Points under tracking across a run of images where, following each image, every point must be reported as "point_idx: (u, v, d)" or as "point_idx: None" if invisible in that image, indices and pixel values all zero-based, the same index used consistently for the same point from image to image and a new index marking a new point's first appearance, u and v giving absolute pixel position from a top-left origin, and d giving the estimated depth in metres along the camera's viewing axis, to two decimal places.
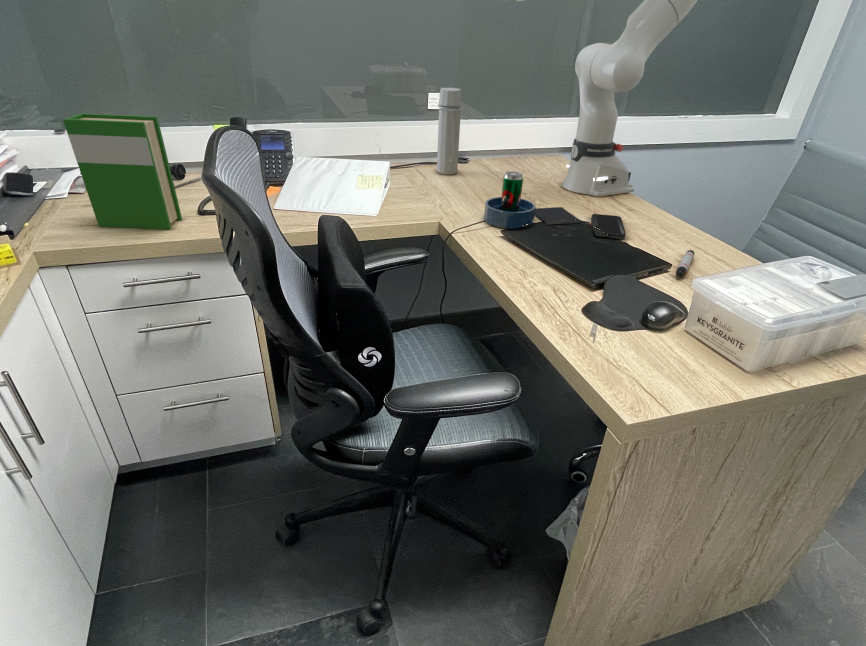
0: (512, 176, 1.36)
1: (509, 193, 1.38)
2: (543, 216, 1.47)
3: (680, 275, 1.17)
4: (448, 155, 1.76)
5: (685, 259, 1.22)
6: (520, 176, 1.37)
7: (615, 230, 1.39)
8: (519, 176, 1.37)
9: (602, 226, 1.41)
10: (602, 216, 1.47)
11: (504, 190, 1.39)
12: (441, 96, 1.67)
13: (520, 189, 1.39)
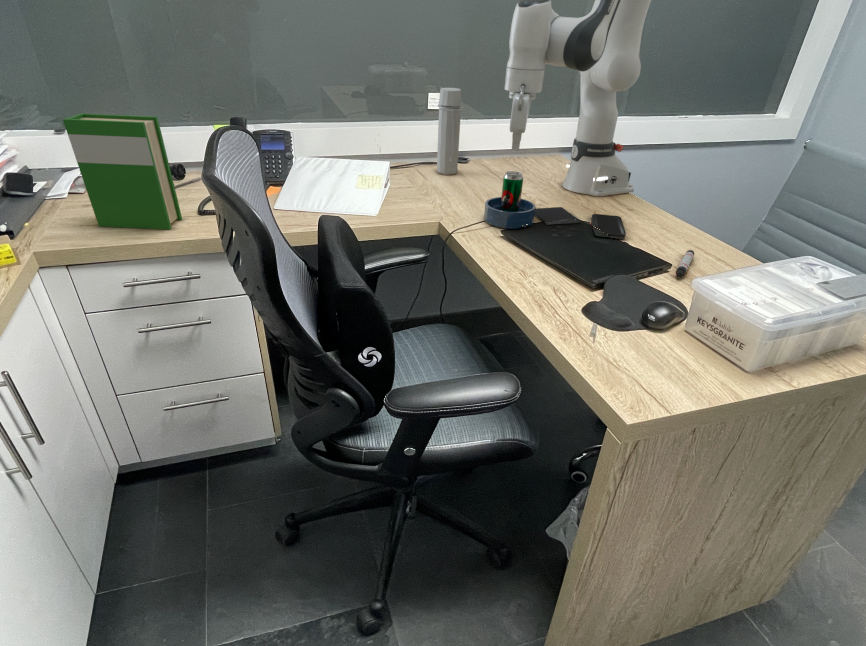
0: (512, 176, 1.36)
1: (509, 193, 1.38)
2: (543, 216, 1.47)
3: (680, 275, 1.17)
4: (448, 155, 1.76)
5: (685, 259, 1.22)
6: (520, 176, 1.37)
7: (615, 230, 1.39)
8: (519, 176, 1.37)
9: (602, 226, 1.41)
10: (602, 216, 1.47)
11: (504, 190, 1.39)
12: (441, 96, 1.67)
13: (520, 189, 1.39)
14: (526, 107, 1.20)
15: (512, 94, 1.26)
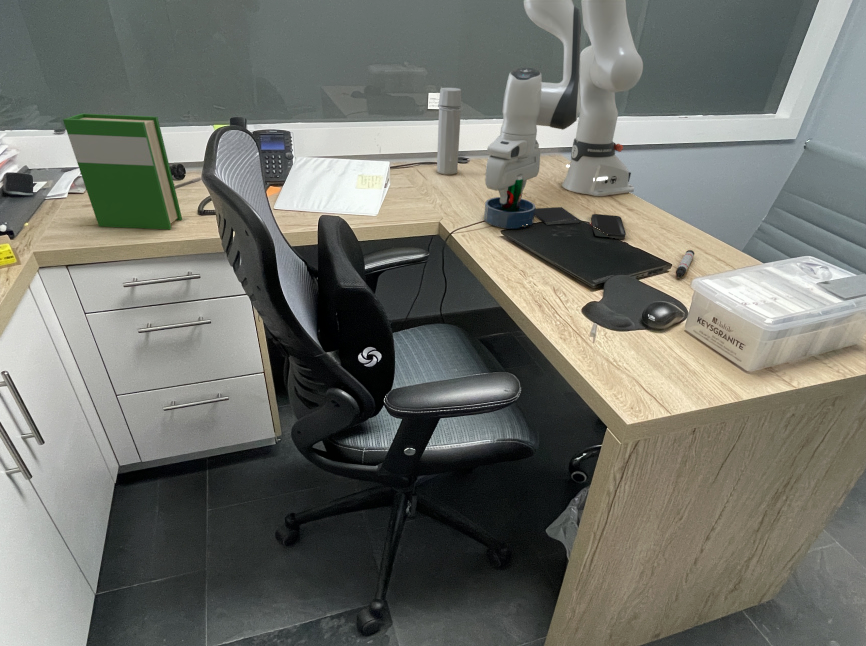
0: None
1: (509, 193, 1.38)
2: (543, 216, 1.47)
3: (680, 275, 1.17)
4: (448, 155, 1.76)
5: (684, 259, 1.22)
6: (520, 176, 1.37)
7: (615, 230, 1.39)
8: (519, 176, 1.37)
9: (602, 226, 1.41)
10: (602, 216, 1.47)
11: None
12: (441, 96, 1.67)
13: (520, 189, 1.39)
14: None
15: None
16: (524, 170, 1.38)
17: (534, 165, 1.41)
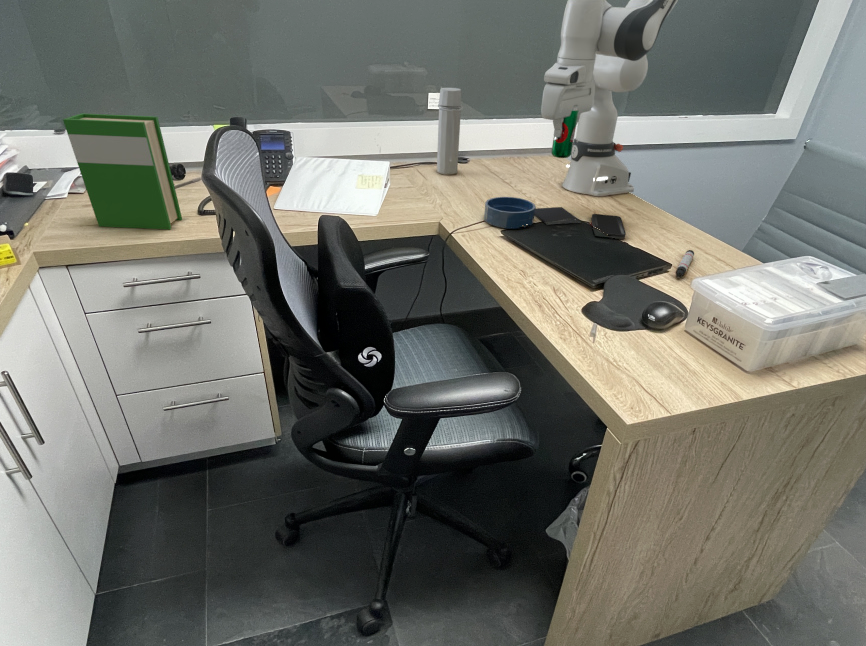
0: None
1: (564, 125, 1.33)
2: (543, 216, 1.47)
3: (680, 275, 1.17)
4: (448, 155, 1.76)
5: (684, 259, 1.22)
6: (576, 107, 1.32)
7: (615, 230, 1.39)
8: (575, 107, 1.31)
9: (602, 226, 1.41)
10: (602, 216, 1.47)
11: None
12: (441, 96, 1.67)
13: (575, 121, 1.33)
14: None
15: None
16: (580, 101, 1.33)
17: (589, 97, 1.35)
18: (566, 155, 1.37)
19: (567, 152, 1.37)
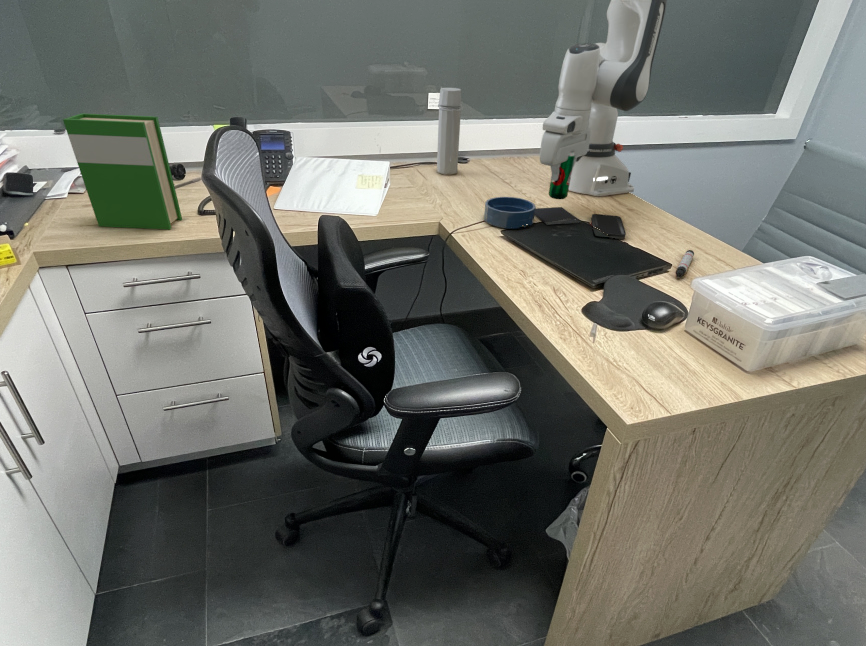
0: None
1: (561, 169, 1.39)
2: (543, 216, 1.47)
3: (680, 275, 1.17)
4: (448, 155, 1.76)
5: (684, 259, 1.22)
6: (572, 152, 1.38)
7: (615, 230, 1.39)
8: (571, 152, 1.38)
9: (602, 226, 1.41)
10: (602, 216, 1.47)
11: None
12: (441, 96, 1.67)
13: (571, 166, 1.40)
14: None
15: None
16: (576, 147, 1.39)
17: (585, 142, 1.42)
18: (563, 197, 1.43)
19: (564, 194, 1.43)
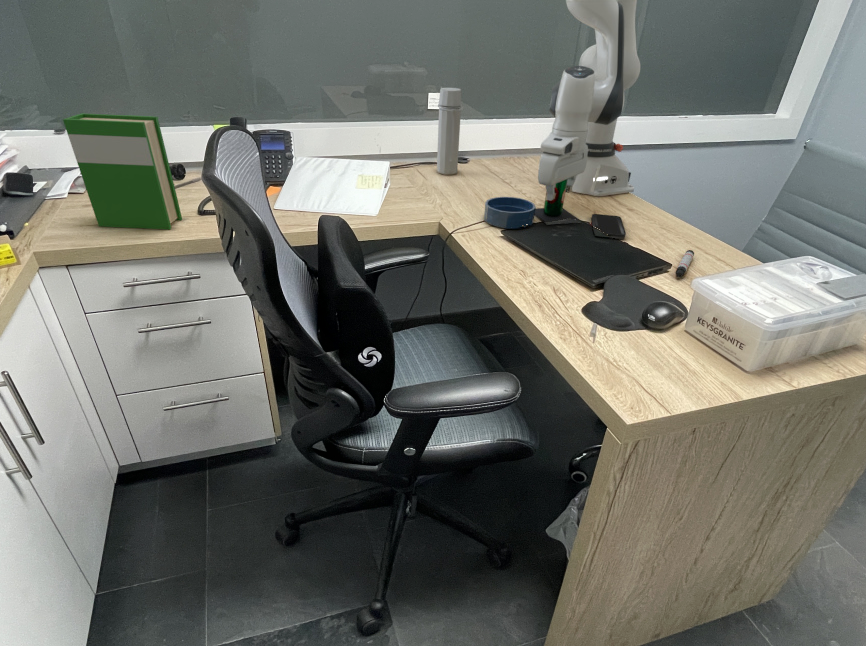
0: None
1: (554, 188, 1.42)
2: (543, 216, 1.47)
3: (680, 275, 1.17)
4: (448, 155, 1.76)
5: (684, 259, 1.22)
6: None
7: (615, 230, 1.39)
8: None
9: (602, 226, 1.41)
10: (602, 216, 1.47)
11: None
12: (441, 96, 1.67)
13: (565, 184, 1.43)
14: None
15: None
16: (574, 166, 1.42)
17: (582, 161, 1.44)
18: (557, 214, 1.47)
19: (558, 211, 1.46)
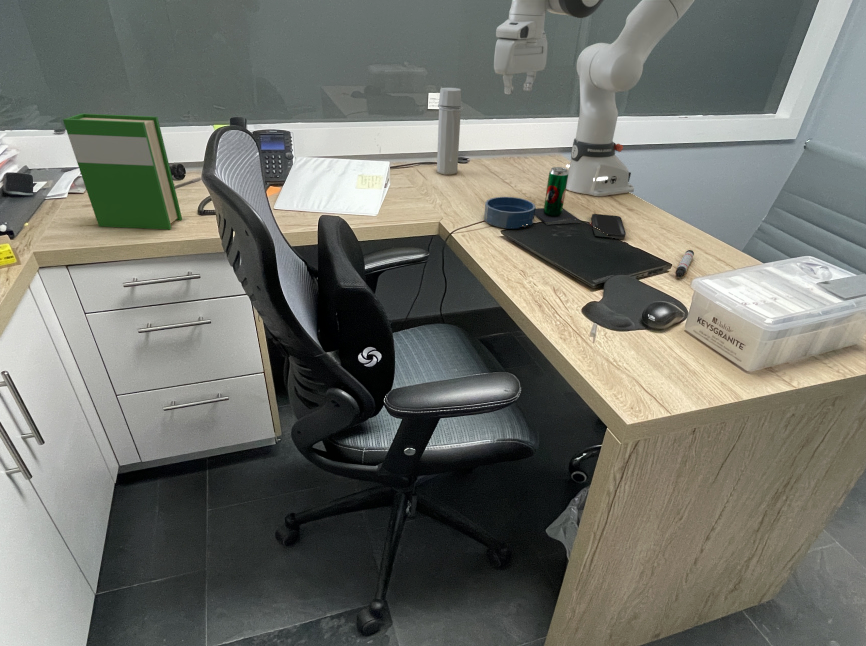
0: (558, 172, 1.40)
1: (554, 188, 1.42)
2: (543, 216, 1.47)
3: (680, 275, 1.17)
4: (448, 155, 1.76)
5: (684, 259, 1.22)
6: (566, 172, 1.41)
7: (615, 230, 1.39)
8: (565, 172, 1.41)
9: (602, 226, 1.41)
10: (602, 216, 1.47)
11: (549, 185, 1.43)
12: (441, 96, 1.67)
13: (565, 184, 1.43)
14: None
15: None
16: (532, 59, 1.37)
17: (542, 55, 1.40)
18: (557, 214, 1.47)
19: (558, 211, 1.46)
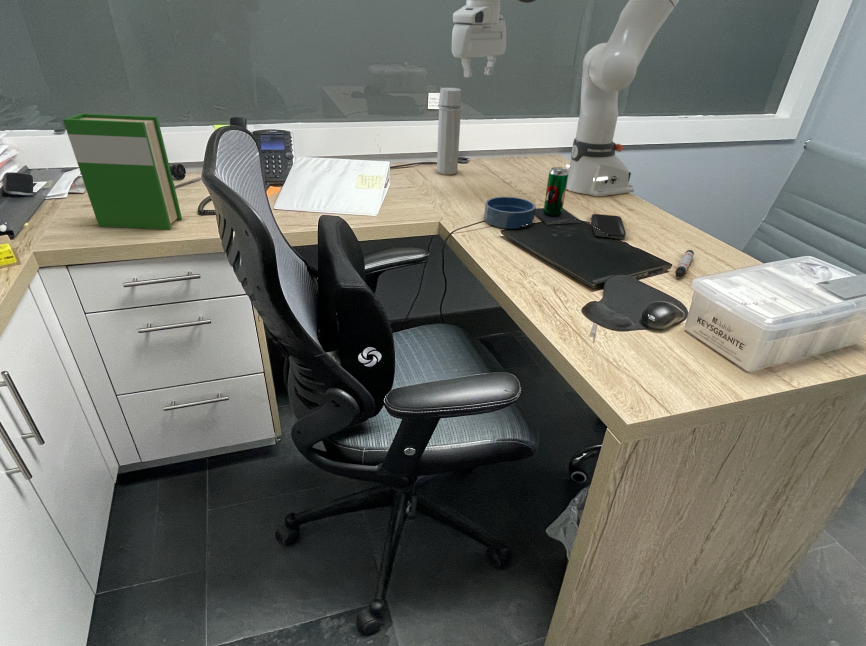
0: (558, 172, 1.40)
1: (554, 188, 1.42)
2: (543, 216, 1.47)
3: (680, 275, 1.17)
4: (448, 155, 1.76)
5: (684, 259, 1.22)
6: (566, 172, 1.41)
7: (615, 230, 1.39)
8: (565, 172, 1.41)
9: (602, 226, 1.41)
10: (602, 216, 1.47)
11: (549, 185, 1.43)
12: (441, 96, 1.67)
13: (565, 184, 1.43)
14: None
15: None
16: (491, 43, 1.43)
17: (500, 40, 1.46)
18: (557, 214, 1.47)
19: (558, 211, 1.46)
